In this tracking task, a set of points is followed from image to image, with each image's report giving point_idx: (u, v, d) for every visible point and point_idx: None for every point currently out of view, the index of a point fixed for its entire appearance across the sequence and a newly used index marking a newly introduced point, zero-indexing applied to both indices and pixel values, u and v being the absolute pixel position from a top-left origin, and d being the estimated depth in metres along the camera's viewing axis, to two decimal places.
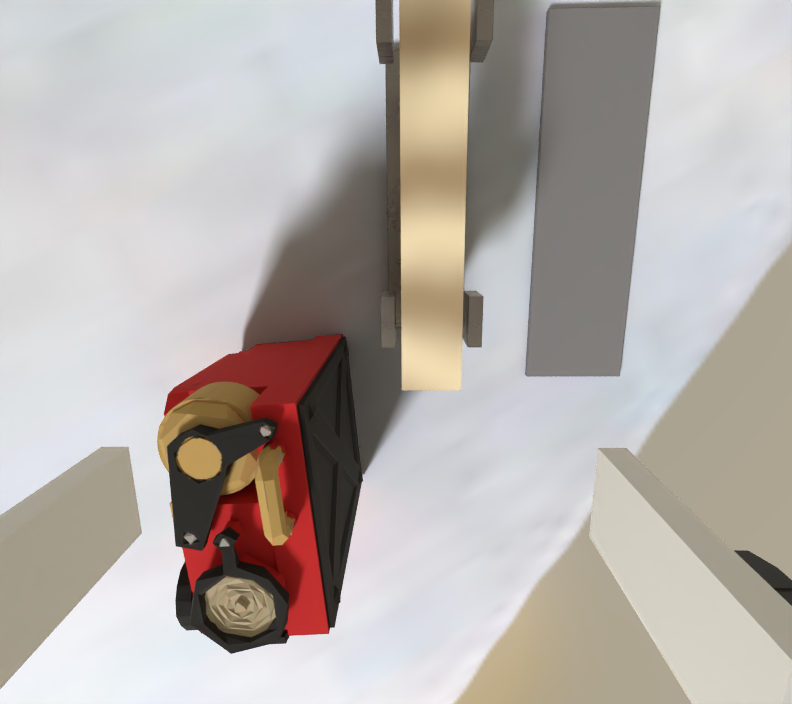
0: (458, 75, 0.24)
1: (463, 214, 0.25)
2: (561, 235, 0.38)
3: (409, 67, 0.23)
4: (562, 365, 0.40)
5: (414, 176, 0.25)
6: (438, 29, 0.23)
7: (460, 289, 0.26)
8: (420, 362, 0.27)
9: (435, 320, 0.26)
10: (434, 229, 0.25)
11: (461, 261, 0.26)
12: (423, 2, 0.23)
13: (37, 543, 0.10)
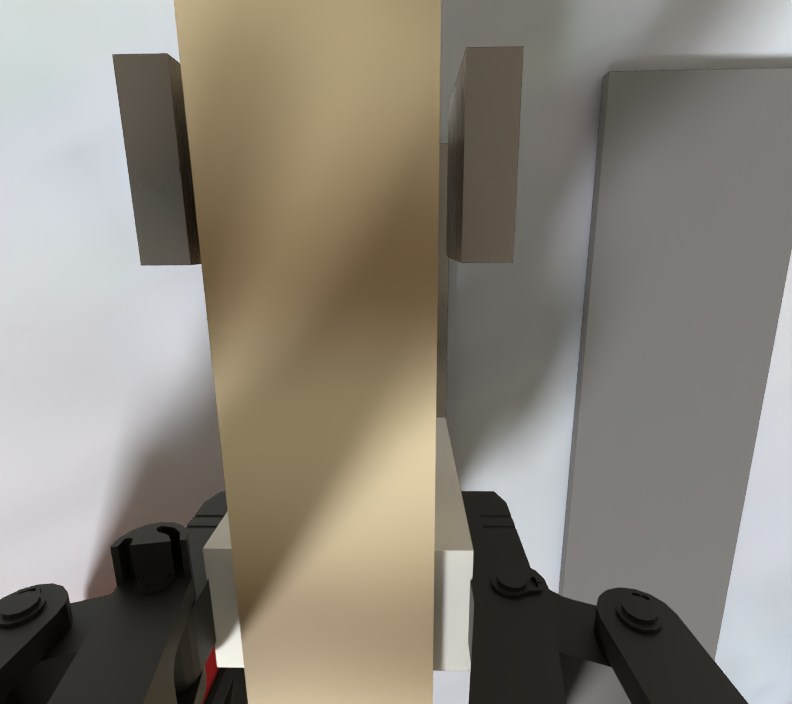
0: (402, 379, 0.07)
1: None
2: (621, 460, 0.21)
3: (243, 353, 0.07)
4: None
5: (280, 631, 0.08)
6: (332, 243, 0.07)
7: None
8: None
9: None
10: None
11: None
12: (274, 155, 0.07)
13: None
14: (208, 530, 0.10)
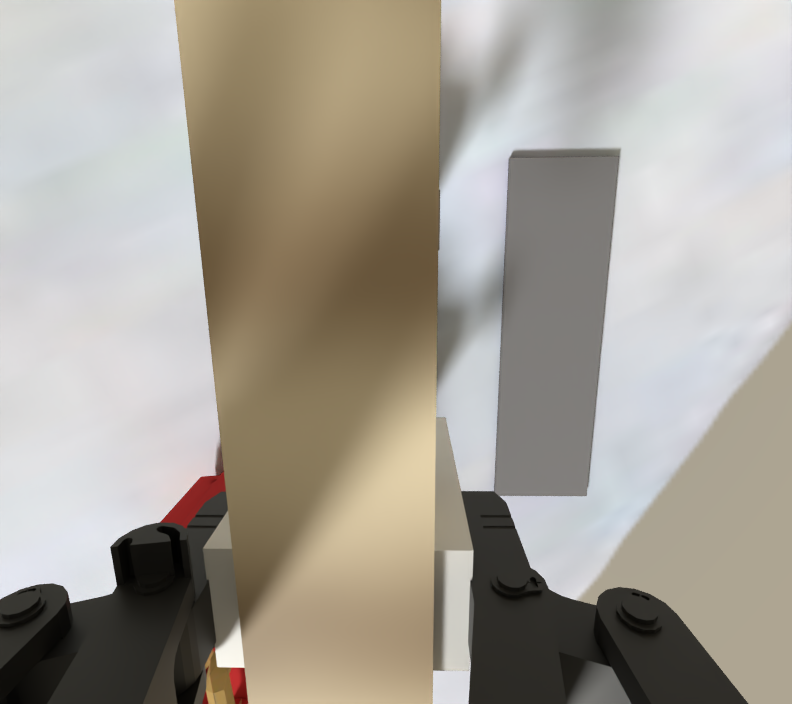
0: (402, 380, 0.07)
1: None
2: (526, 365, 0.38)
3: (243, 355, 0.07)
4: (530, 485, 0.41)
5: (281, 631, 0.08)
6: (332, 245, 0.07)
7: None
8: None
9: None
10: None
11: None
12: (275, 158, 0.07)
13: None
14: (208, 530, 0.10)
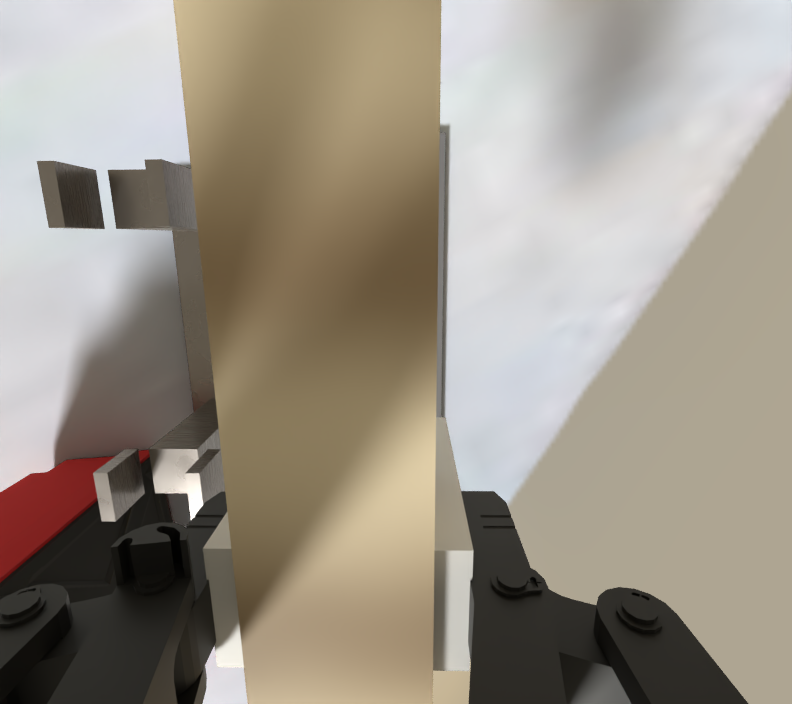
0: (402, 382, 0.07)
1: None
2: None
3: (243, 357, 0.07)
4: None
5: (280, 634, 0.08)
6: (332, 247, 0.07)
7: None
8: None
9: None
10: None
11: None
12: (274, 159, 0.07)
13: None
14: (208, 530, 0.10)
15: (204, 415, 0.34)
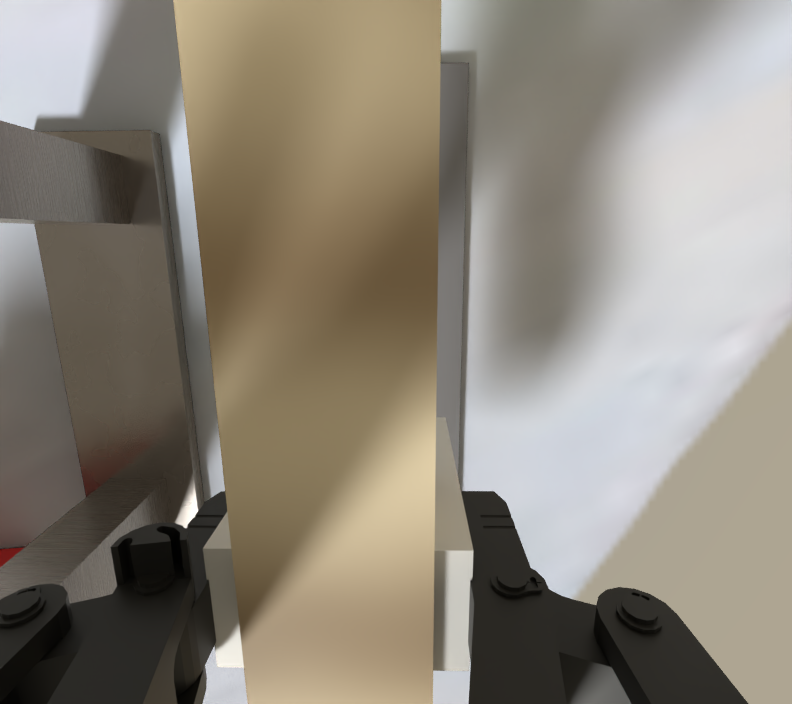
0: (402, 384, 0.07)
1: None
2: None
3: (243, 357, 0.07)
4: None
5: (280, 635, 0.08)
6: (332, 248, 0.07)
7: None
8: None
9: None
10: None
11: None
12: (274, 160, 0.07)
13: None
14: (208, 530, 0.10)
15: (83, 517, 0.21)
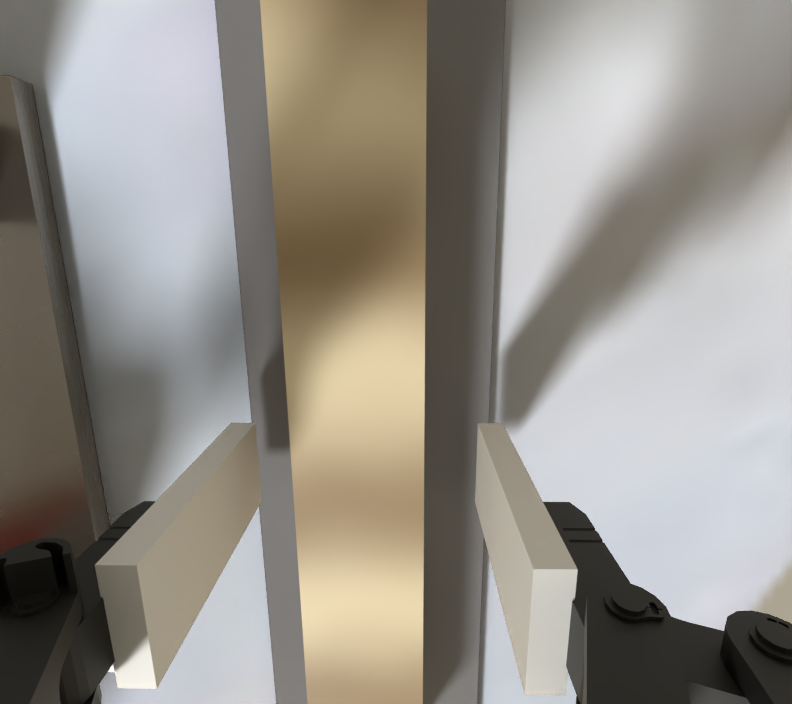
0: (403, 329, 0.11)
1: (419, 568, 0.13)
2: None
3: (301, 313, 0.11)
4: None
5: (321, 503, 0.12)
6: (359, 242, 0.11)
7: (417, 685, 0.14)
8: None
9: None
10: (364, 591, 0.13)
11: (417, 641, 0.14)
12: (325, 189, 0.11)
13: (212, 498, 0.11)
14: None
15: None
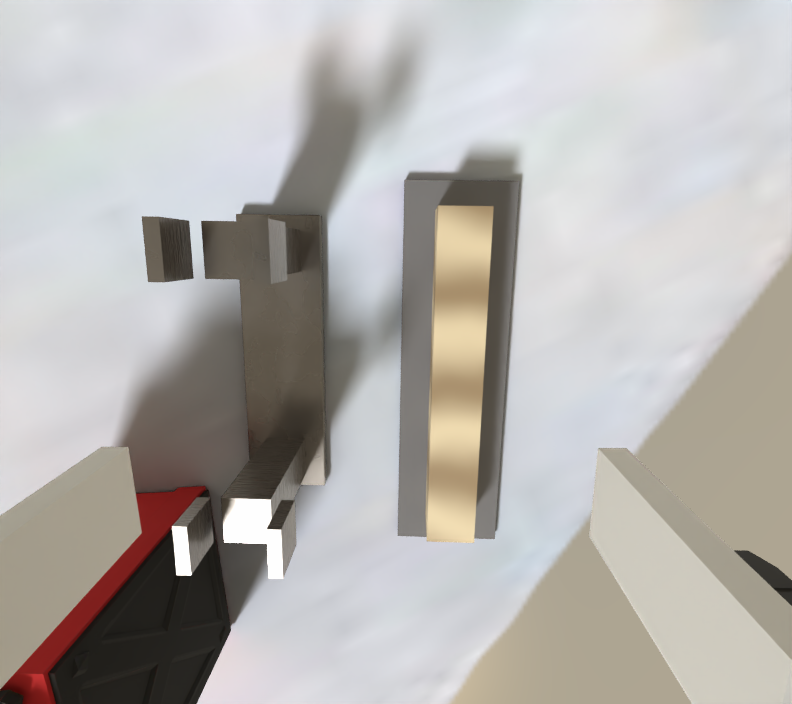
0: (478, 319, 0.31)
1: (479, 415, 0.32)
2: (427, 399, 0.36)
3: (442, 312, 0.31)
4: None
5: (442, 387, 0.32)
6: (465, 288, 0.31)
7: (475, 469, 0.33)
8: (442, 521, 0.34)
9: (455, 491, 0.34)
10: (456, 425, 0.33)
11: (477, 448, 0.33)
12: (454, 269, 0.30)
13: (37, 543, 0.10)
14: None
15: (265, 457, 0.33)
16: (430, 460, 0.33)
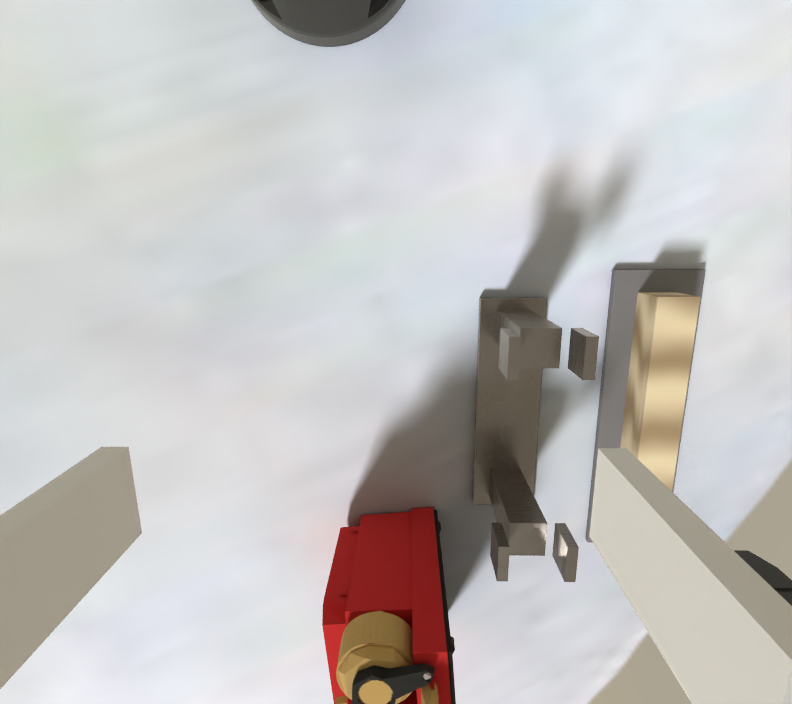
0: (682, 380, 0.40)
1: (676, 451, 0.42)
2: (620, 436, 0.46)
3: (654, 375, 0.40)
4: None
5: (649, 431, 0.42)
6: (673, 357, 0.40)
7: None
8: None
9: None
10: (658, 459, 0.42)
11: (672, 476, 0.43)
12: (666, 343, 0.40)
13: (37, 543, 0.10)
14: None
15: (507, 486, 0.43)
16: None
